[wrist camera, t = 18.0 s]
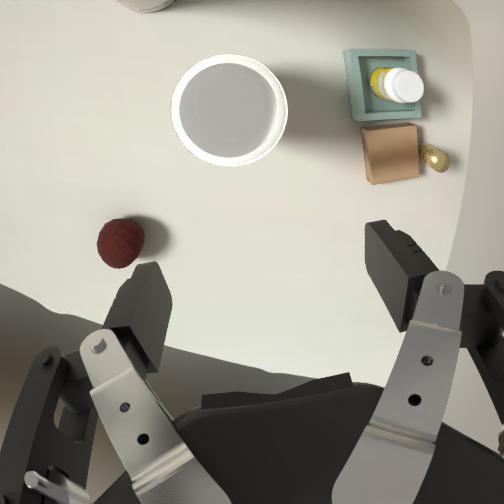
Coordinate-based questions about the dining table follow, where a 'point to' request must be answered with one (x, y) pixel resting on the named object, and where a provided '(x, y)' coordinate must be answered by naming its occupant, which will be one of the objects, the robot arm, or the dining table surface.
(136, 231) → the potato
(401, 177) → the brown wooden square block
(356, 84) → the tray
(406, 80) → the supplement bottle
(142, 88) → the dining table surface
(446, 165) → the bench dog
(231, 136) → the jar
